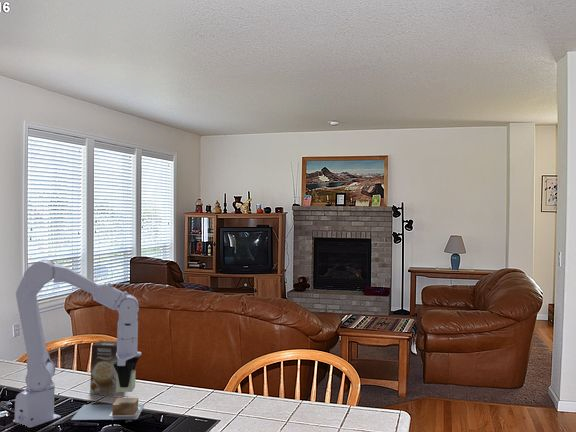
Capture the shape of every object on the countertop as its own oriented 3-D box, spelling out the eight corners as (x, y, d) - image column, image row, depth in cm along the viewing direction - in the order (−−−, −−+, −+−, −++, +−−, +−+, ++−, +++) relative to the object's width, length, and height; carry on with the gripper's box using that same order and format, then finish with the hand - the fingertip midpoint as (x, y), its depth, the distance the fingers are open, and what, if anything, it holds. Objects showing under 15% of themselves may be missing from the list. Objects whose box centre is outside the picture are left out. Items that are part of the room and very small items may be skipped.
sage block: (115, 391, 149) (116, 374, 149) (119, 386, 154) (120, 369, 154) (131, 391, 149) (132, 374, 150) (135, 386, 154) (135, 369, 154)
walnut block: (112, 415, 148) (112, 404, 148) (117, 408, 154) (117, 397, 154) (133, 415, 149) (134, 404, 149) (138, 407, 155) (138, 397, 155)
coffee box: (88, 395, 166) (90, 344, 166) (98, 389, 173) (99, 340, 173) (116, 396, 165) (117, 346, 166) (124, 390, 172) (126, 341, 172)
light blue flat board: (70, 421, 144) (70, 419, 144) (83, 406, 156) (83, 404, 156) (136, 420, 146) (137, 418, 146) (145, 405, 158) (145, 404, 158)
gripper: (136, 343, 145) (135, 392, 145) (146, 332, 159) (145, 377, 159) (110, 343, 144) (109, 392, 144) (122, 332, 159) (121, 377, 159)
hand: (126, 384), depth 152 cm, fingers closed on sage block, 4 cm apart
